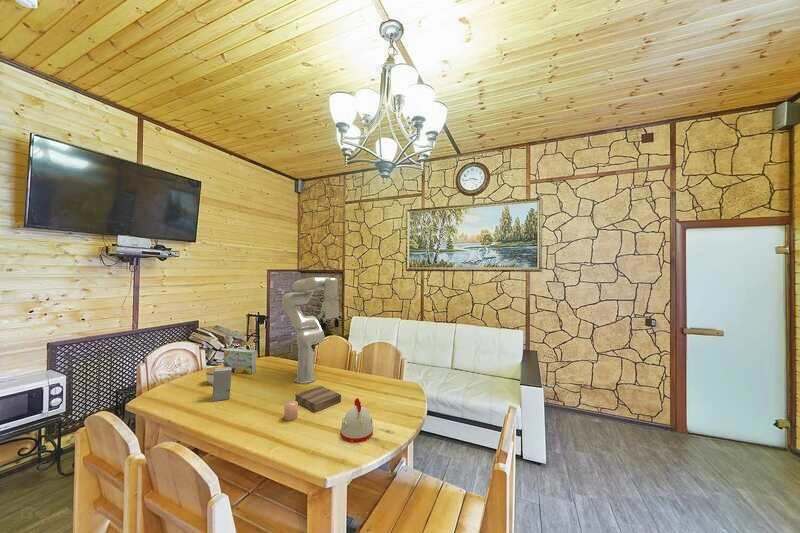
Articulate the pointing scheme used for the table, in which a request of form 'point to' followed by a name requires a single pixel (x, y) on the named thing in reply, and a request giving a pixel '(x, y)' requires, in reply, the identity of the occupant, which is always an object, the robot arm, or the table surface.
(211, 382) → the lidded jar
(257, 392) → the table surface
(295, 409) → the terracotta cylinder
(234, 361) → the snack box
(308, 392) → the walnut platform
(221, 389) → the skincare box
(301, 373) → the robot arm
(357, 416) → the kitchen timer
